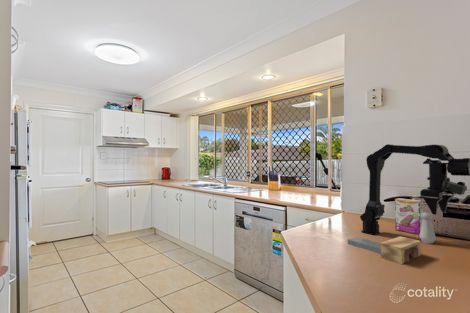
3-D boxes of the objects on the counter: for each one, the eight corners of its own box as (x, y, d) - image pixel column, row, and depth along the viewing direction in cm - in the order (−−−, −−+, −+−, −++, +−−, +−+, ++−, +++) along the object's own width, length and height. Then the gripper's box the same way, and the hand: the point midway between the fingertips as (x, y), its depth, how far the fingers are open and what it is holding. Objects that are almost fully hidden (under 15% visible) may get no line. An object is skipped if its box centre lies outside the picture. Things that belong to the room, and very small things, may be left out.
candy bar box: (395, 230, 128) (394, 198, 129) (399, 228, 131) (398, 198, 131) (420, 235, 119) (419, 201, 119) (424, 233, 122) (423, 200, 122)
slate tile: (347, 245, 107) (347, 239, 107) (357, 242, 111) (357, 236, 111) (380, 255, 95) (380, 248, 95) (390, 251, 99) (390, 245, 99)
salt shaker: (439, 244, 105) (438, 214, 105) (423, 244, 106) (423, 214, 107) (431, 240, 111) (430, 211, 111) (416, 239, 112) (416, 211, 112)
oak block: (381, 257, 91) (380, 242, 91) (400, 249, 99) (400, 236, 99) (401, 264, 85) (401, 248, 85) (420, 255, 93) (420, 240, 93)
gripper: (455, 176, 89) (456, 219, 88) (471, 175, 99) (473, 213, 98) (419, 175, 98) (420, 214, 98) (437, 174, 108) (438, 209, 108)
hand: (439, 213), depth 100 cm, fingers open, 9 cm apart
